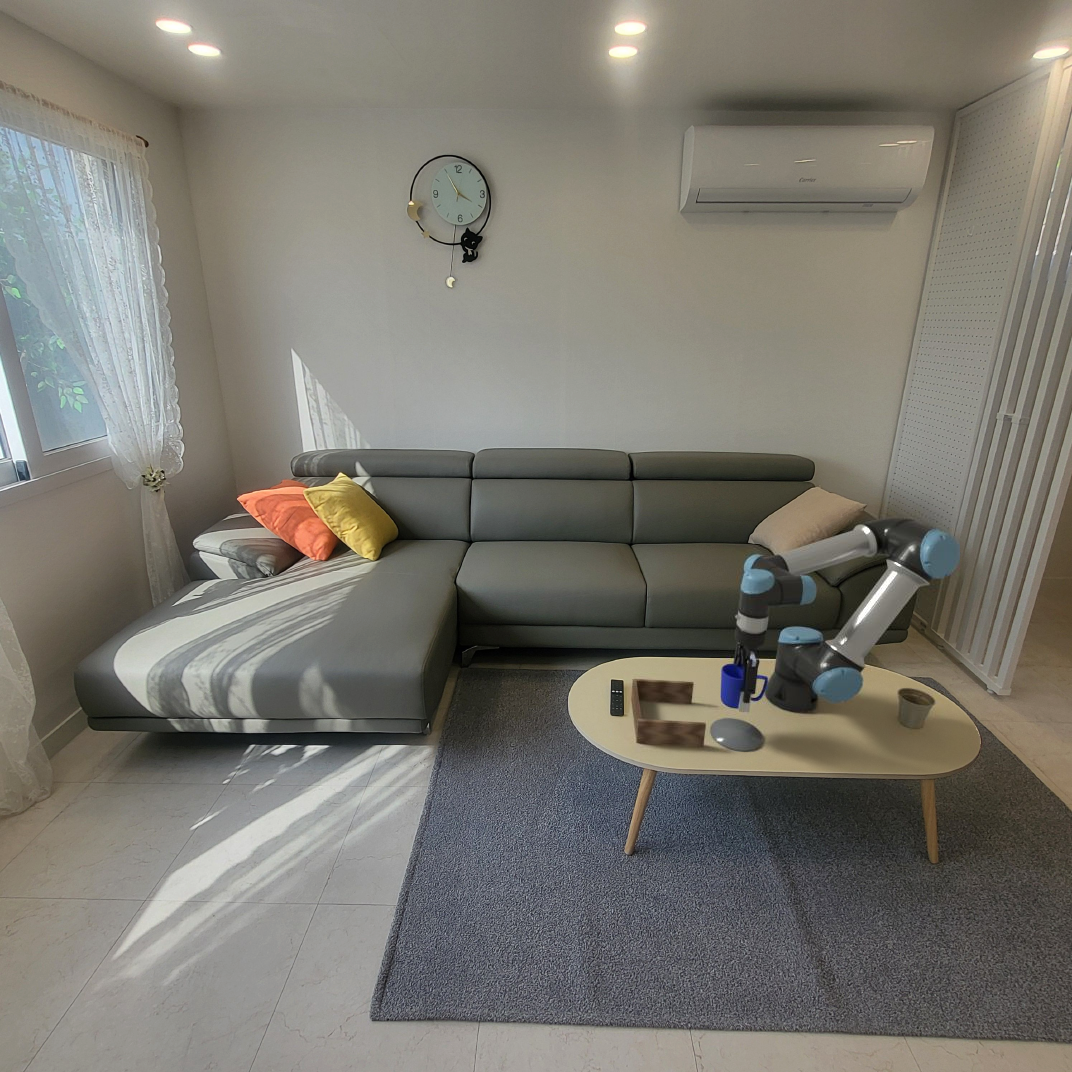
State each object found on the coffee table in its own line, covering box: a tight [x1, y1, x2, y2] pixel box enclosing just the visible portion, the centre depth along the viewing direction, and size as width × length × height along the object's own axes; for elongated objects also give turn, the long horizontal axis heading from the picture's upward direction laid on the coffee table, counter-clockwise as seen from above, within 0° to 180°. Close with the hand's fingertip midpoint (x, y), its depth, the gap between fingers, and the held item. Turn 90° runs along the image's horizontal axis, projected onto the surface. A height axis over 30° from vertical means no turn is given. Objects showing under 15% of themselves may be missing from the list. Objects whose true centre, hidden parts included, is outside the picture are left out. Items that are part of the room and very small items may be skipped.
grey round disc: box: [709, 717, 764, 753], centre depth 170 cm, size 14×14×1 cm
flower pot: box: [897, 687, 936, 729], centre depth 175 cm, size 9×9×9 cm
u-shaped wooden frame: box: [630, 678, 707, 748], centre depth 175 cm, size 18×21×7 cm
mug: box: [720, 663, 769, 710], centre depth 165 cm, size 8×12×10 cm
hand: (740, 702), depth 167 cm, fingers closed on mug, 7 cm apart
